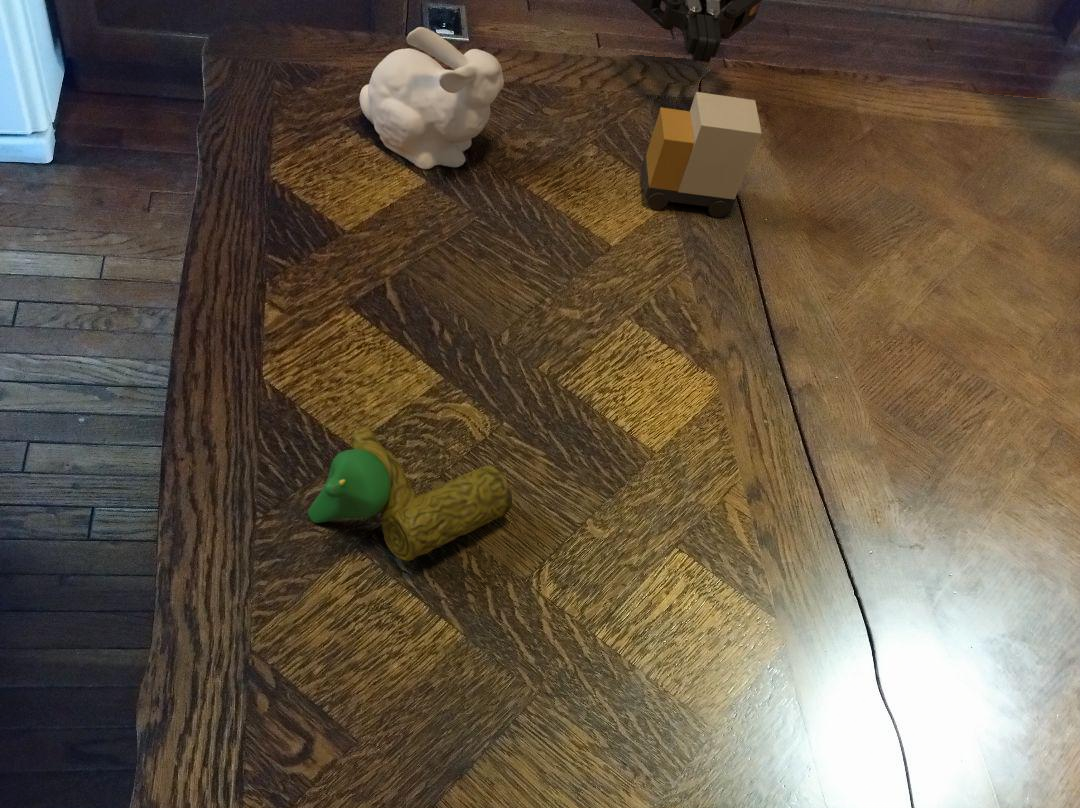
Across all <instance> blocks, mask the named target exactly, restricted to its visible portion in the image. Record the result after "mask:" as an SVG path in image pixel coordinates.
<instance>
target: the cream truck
mask: <svg viewBox="0 0 1080 808" xmlns="http://www.w3.org/2000/svg"><path fill="white" fill-rule="evenodd" d="M757 107H758V106H757V102H756V100H755V99H749V98H743V97H735V96H728V95H721V94H715V93H708V92H701V91H696V92H695V94H694V97H693V99H692V103H691V106H690V109H689V110H683V109H676V108H668V107H662V106H661V107H660V108H659V112H658V115H657V118H656V121H655V125H654V128H653V131H652V134H651V138H650V141H649V144H648V147H647V152H646V154H645V156H644V157H643V161H642V165H641V176H642V186H643V195H644V196H643V198H644V199H646V202H647V206H648V207H649V208H650V210H654V211H659V210H662V209H664V208H665V207H667V205H668V203H676V204H677V203H678V204H685V205H691V206H692V205H693V206H701V207H707V209H708V210H707V211H708V214H709V215H710V216H711V217H712V218H722V217H724V216H725V215H727V214H728V212H729V210H732V208H733V207H734V204H735V201H736V197H737V196H738V192H739V190H740V188H741V186H742V183H743V180H744V178H745V176H746V173H747V171H748V168H749V166H750V163H751V161H752V159H753V156H754V154H755V151H756V149H757V146H758V144H759V142H760V140H761V136H762V134H763V133H762V127H761V122H760V117H759V113H758V112H759V111H758V108H757Z"/></svg>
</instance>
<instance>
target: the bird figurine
mask: <svg viewBox="0 0 1080 808" xmlns="http://www.w3.org/2000/svg"><path fill="white" fill-rule="evenodd" d="M349 443H350V446H351V447H352V449H346V450H343V451H340V452H339V453H337V454H336V456H334V458H333V459H332V462H331V464H330V468H329V472H328V477H327V479H326V482H325V484H324V486H323V487H322V488H321V490H320V492H319V494H318V495H317V496H316V498H315V500H314V501H313V502H312V504H311V506H310V507H309V509H308V511H307V516H308V518H309V519H310V521H311V522H312V523H314V524H321V523H327V522H331V521H337V520H342V519H369V518H371V517H373V516H375V515H376V514H378V513H379V512H380V511H381V510H383V511H382V514H381V519H380V520H381V521H380V523H381V531H382V534H383V538H384V541H385V544H386V546H387V548H388V549H389V551H390V552H391V553H392V554H393V555H394V556H395V557H396V558H397V559H399V560H402V561H404V562H410V561H412V560H415V559H416V557H419V556H424V555H426V554H428V553H431V552H432V551H433V550H434V549H437V548H440V547H442V546H444V545H446V544H448V543H449V542H452V541H454V540H455V539H457V538H458V537H460V536H465V535H467V534H469V533H471V532H473V531H475V530H477V529H479V528H481V527H483V526H485V525H486V524H489V523H492V521H495V520H496V519H499V518H502V517H505V516H506V515H507V514H509V512H510V510H511V508H512V505H513V494H512V489H511V486H510V483H509V482H508V481H507V479H506V478H505V476H504V474H503V473H502V472H500V470H499V469H497V468H496V467H494V466H492V465H483V466H481V467H478V468H477V469H475V470H472V471H469V472H467V473H465V474H462V475H460V476H458V477H456V478H453V479H451V480H449V481H446V482H445V483H443V484H442V485H440V486H436V487H434V488H432V489H430V490H428V491H426V492H424V493H417V492H416V491H415V490H414V488H413V486H412V484H411V482H410V481H409V480H408V478H407V476H406V473H405V471H404V469H403V468H402V466H401V463H400V462H399V460H398V459H397V458H396V457H395V456H394V455H393V454H392V453H391V452H390V451H389V450H388V449H387V448H385V447H384V446H383V445H382V444H381V442H380V441H379V440H378V438H377V436H376V434H375V433H374V431H373V429H372V427H369V426H363V427H362V428H358V429H357V431H355V432H353V433H351V435H350V442H349Z"/></svg>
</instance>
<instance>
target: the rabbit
mask: <svg viewBox="0 0 1080 808" xmlns="http://www.w3.org/2000/svg"><path fill="white" fill-rule="evenodd" d="M406 43H407V45H409V46H412V47H414V48H417V49H420V51H419V50H417V49H414V48H399V49H396V50H393V51H391V52H390V53H389V54H388V55H386V56H385V57H384V58H383V59H382V60H381V61H380V62H379V63H378V64H377V66H376V67H375V68H374V69H373V71H372V74H371V76H370V78H369V82H368V84H365V85H364V86H363V87H361V90H360V93H359V97H358V99H359V106H360V110H361V111H362V113H363V115H364V116H365V118H366V119H367V120H368V121H369V122H370V123H371V124H372V125H373V127H374V130H375V132H376V133H377V134H378V135H379V139H380V140H381V142H382V144H383V145H384V146H385V147H386V148H387V149H389V150H390V151H392V152H393V153H395V154H397V155H399V156H400V157H403V158H404V159H406V160H408V161H409V162H410V163H412V164H413V165H415V166H416V167H417V168H419V169H421V170H430V169H432V168H434V167H435V166H444V167H449V168H459V167H461V166H463V165H464V164H465V163H466V161H467V159H466V156H465V154H464V152H465V151H467V150H468V149H470V148H471V146H472V144H473V143H472V142H473V141H472V139H473V138H475V137H477V136H478V135H479V134H480V133H481V132H482V131H483V129H484V128H485V127H486V125H487V124H488V122H489V121H490V117H491V104H492V103H494V102H495V100H496V98H497V97H498V95H499V93H500V92H501V91H502V90H503V88H504V86H505V85H504V84H505V80H504V75H503V69H502V66H501V63H500V62H499V60H498V59H497V57H495V56H494V55H493V54H491V53H489V52H487V51H485V50H481V49H478V48H472V49H469V50H467V51H466V52H465V53H464V54H463V53H462V52H460V51H459V50H458V49H457V48H456V47H455V46H454V45H452V44H451V43H450V42H449V41H448V40H446V39H444V38H443V36H440V35H439V34H438V33H436V32H434V31H433V30H430V29H429V28H426V27H423V26H419V27H416V28H415V29H413V30H412V31H410V32H409V33H408V35H407V36H406ZM422 51H423V52H422ZM426 53H427V54H426ZM431 56H432V57H431ZM434 58H435V59H437V60H438V61H440V62H441V63H443V64H444V65H446V66H448V67H449V68H452V69H446V68H444V67H443V66H442V65H441V64H440V63H439V62H438V61H436V60H435V59H434Z"/></svg>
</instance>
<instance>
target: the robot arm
mask: <svg viewBox="0 0 1080 808" xmlns="http://www.w3.org/2000/svg"><path fill="white" fill-rule="evenodd" d="M762 1H763V0H630V2H632V3H633V4H634V5H635V6H637V7H638V8H639V10H641V11H642V12H644V13H645V14H646V15H647V16H648V17H649V18H650V19H652V21H654V22H655V23H656V24H657V25H658V26H660V27H661V28H662V29H663V30H666V31H672V30H674V29H675V28H676V29H679V31H680V34H681V36H682V37H683V41H684V49H685V51H686V53H687V54H691V59H692V61H697V62H701V63H702V62H703V63H710V62H711V59H712V58H716V56H717V55H718V51H719V48H720V44H721V41H722V40H729V39H730V38H732V37H733V36H734V35H735V34H736V33H738V32H739V31H741V30H742V29H743V28H745V27H746V26H748V25H749V24H751V22H753V21H754V20H756V18H757V15H758V12H759V9H760V6H761V4H762ZM662 2H663V4H665V9H664V10H663V9H662V8H661V5H662ZM723 9H724V10H723Z"/></svg>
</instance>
